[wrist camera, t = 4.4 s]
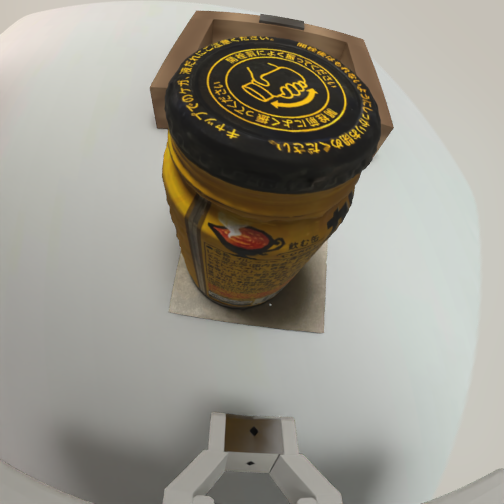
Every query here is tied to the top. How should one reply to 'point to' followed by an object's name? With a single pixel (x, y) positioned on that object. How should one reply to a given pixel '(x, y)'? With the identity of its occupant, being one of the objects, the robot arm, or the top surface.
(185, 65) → the condiment
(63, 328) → the top surface
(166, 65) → the cradle
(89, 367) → the top surface
